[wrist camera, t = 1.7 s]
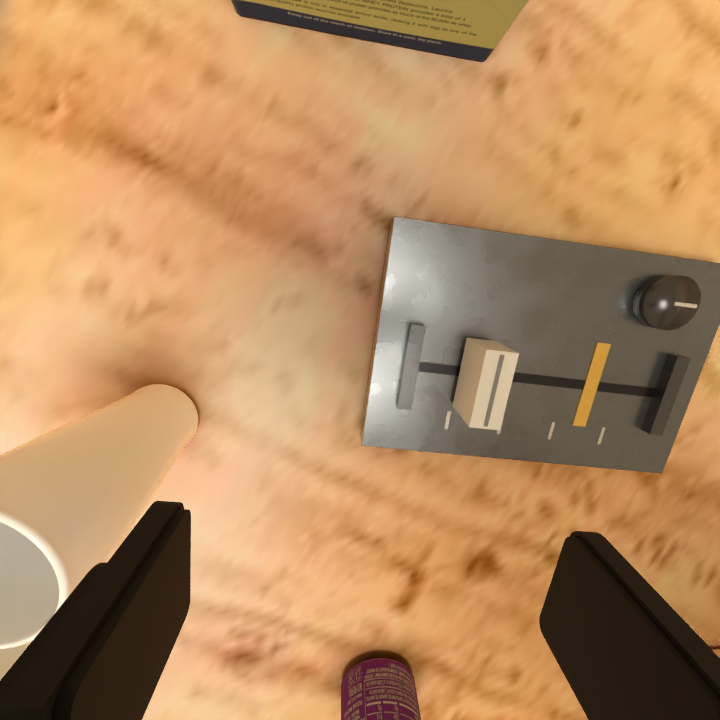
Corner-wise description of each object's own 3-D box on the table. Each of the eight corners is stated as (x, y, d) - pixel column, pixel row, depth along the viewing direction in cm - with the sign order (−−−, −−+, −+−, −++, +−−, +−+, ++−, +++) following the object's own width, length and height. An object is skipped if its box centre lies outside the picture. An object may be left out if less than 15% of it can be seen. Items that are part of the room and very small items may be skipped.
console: (712, 266, 26) (762, 266, 23) (641, 460, 31) (676, 482, 27) (390, 220, 25) (397, 213, 21) (360, 433, 29) (362, 454, 26)
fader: (494, 340, 25) (519, 353, 21) (479, 408, 26) (500, 430, 23) (466, 337, 25) (487, 349, 21) (452, 405, 26) (469, 427, 22)
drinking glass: (124, 453, 28) (-107, 654, 14) (114, 369, 26) (-163, 500, 12) (212, 455, 29) (80, 654, 14) (208, 374, 27) (52, 504, 12)
